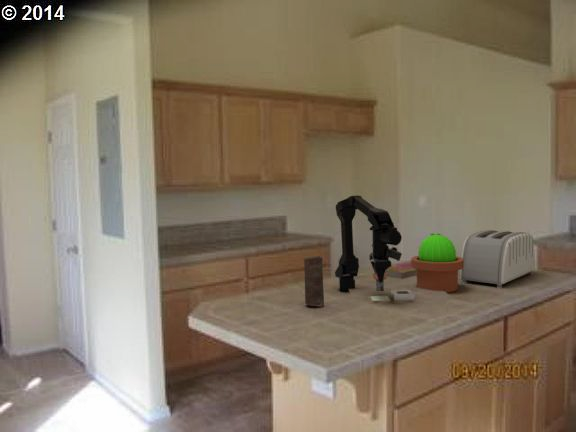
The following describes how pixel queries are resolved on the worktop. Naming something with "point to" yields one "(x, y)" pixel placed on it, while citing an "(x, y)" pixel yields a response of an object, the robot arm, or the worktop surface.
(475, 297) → the worktop surface
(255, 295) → the worktop surface
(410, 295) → the block
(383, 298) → the rubber pad
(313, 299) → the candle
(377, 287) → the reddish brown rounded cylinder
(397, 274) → the flat patterned box
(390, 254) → the robot arm
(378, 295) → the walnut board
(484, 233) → the toaster
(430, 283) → the potted cactus
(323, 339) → the worktop surface
